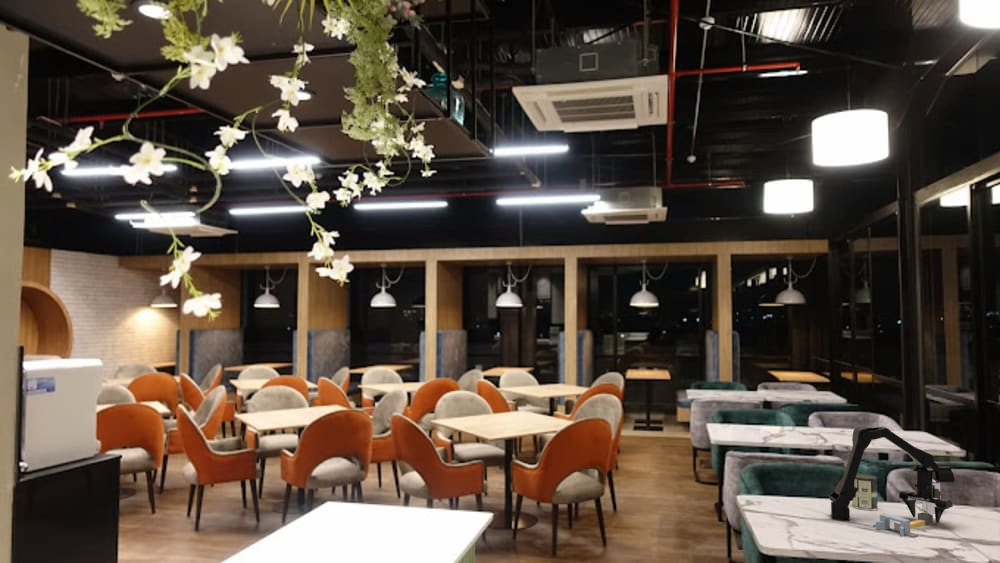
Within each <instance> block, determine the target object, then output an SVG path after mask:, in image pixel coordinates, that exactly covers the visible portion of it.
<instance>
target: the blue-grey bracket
mask: <svg viewBox="0 0 1000 563" xmlns="http://www.w3.org/2000/svg"><path fill="white" fill-rule="evenodd" d="M891 521H894V522H899V523H900V531H899V536H900V537H903V536H906V537H910V538H918V537H919V534H917V533H914V532H911V529H910V522H911V520H910V519H907V518H903V517H899V516H894V515H891V514H887V513H882V514H880V515H879V520H878V521H877V520H875V524H872V527H874V528H875V530H880V531H886V530H889V529H891Z"/></svg>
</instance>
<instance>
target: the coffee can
mask: <svg viewBox="0 0 1000 563" xmlns="http://www.w3.org/2000/svg"><path fill="white" fill-rule="evenodd" d="M877 481H878V478H877V476H875V475H871V474H865V473H857V475H856V478H855V481H854V486H855V487H857V488H858V490H857V492H856V498H855V497H854V498H853V500H852V501H851V503H852V505H851V507H853V508H854V509H858V510H862V511H870V510H873V511H877V509H879V508H878V482H877Z"/></svg>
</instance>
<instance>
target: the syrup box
mask: <svg viewBox="0 0 1000 563" xmlns="http://www.w3.org/2000/svg"><path fill="white" fill-rule="evenodd" d="M933 485H934V486H935V489H937V490H939V491H941V483H936V481H935V480H933ZM940 498H942V496H941V495H940ZM922 499H923V498H922ZM933 499H938V498H933ZM927 500H928V499H927ZM921 504H922V505H921V506H922V510H923V511H924V513H927V514H931V515H935V509H934V507H937V506H936V505H935V504H934V503H930V502H926V501H921Z"/></svg>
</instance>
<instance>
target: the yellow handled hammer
mask: <svg viewBox="0 0 1000 563" xmlns="http://www.w3.org/2000/svg"><path fill="white" fill-rule="evenodd" d="M916 514H917V519H915V520H912V521H910V530H912V528H913V529H916V528H920V527H924V526H927V527H929V526H933V525H934V516H933V515H934V514H932V513H927V512H918V513H916ZM893 530H894V531H897V530H898V531H897V532H900V522H897V521H894V522H893Z"/></svg>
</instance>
